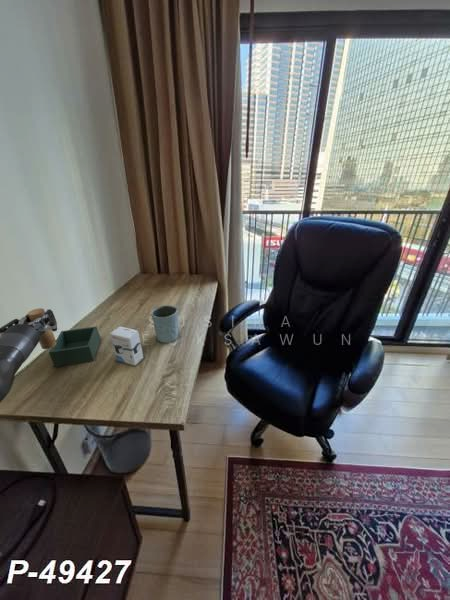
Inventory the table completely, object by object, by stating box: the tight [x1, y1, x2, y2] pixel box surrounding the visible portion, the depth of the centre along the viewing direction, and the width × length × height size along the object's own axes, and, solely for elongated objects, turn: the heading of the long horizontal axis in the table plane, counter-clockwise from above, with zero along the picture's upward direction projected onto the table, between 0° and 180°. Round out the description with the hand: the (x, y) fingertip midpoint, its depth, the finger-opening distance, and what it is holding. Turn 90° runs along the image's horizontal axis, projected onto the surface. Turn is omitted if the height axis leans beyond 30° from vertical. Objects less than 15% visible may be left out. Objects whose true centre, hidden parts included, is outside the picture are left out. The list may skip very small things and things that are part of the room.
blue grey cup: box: [150, 305, 179, 344], centre depth 101 cm, size 10×10×12 cm
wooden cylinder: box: [27, 308, 57, 350], centre depth 75 cm, size 4×4×12 cm
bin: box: [48, 326, 101, 368], centre depth 93 cm, size 13×14×6 cm
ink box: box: [109, 326, 144, 367], centre depth 88 cm, size 8×5×12 cm, turn 68°
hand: (41, 313), depth 76 cm, fingers closed on wooden cylinder, 4 cm apart
